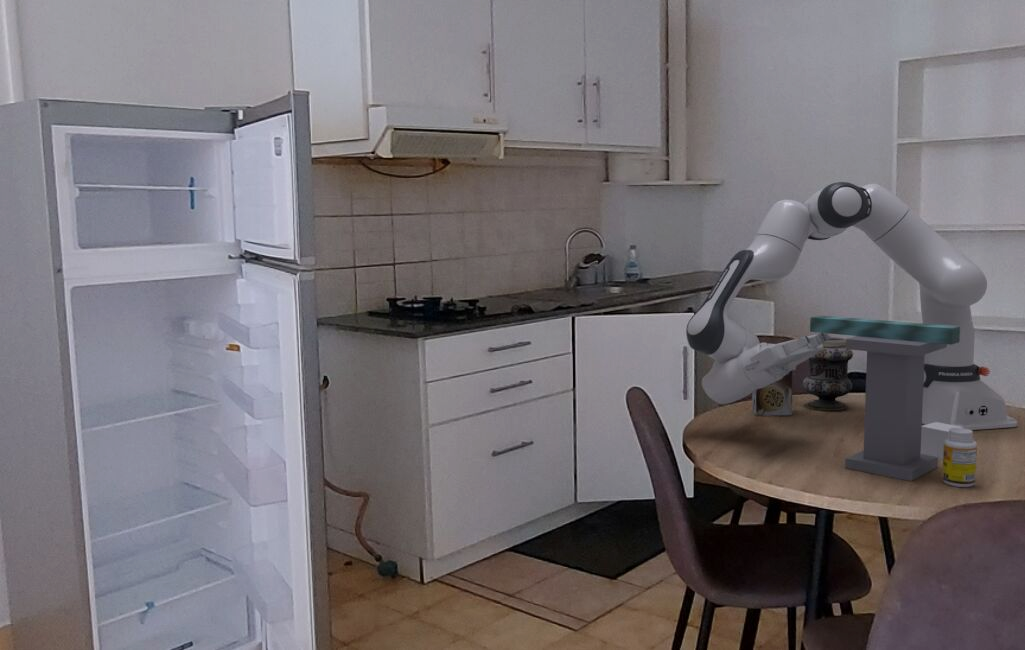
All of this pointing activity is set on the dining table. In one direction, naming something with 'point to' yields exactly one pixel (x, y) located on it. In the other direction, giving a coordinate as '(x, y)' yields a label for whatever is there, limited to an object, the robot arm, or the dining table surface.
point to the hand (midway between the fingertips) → (818, 336)
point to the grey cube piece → (935, 438)
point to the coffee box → (774, 398)
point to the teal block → (886, 329)
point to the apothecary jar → (829, 375)
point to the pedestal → (893, 408)
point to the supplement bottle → (959, 458)
